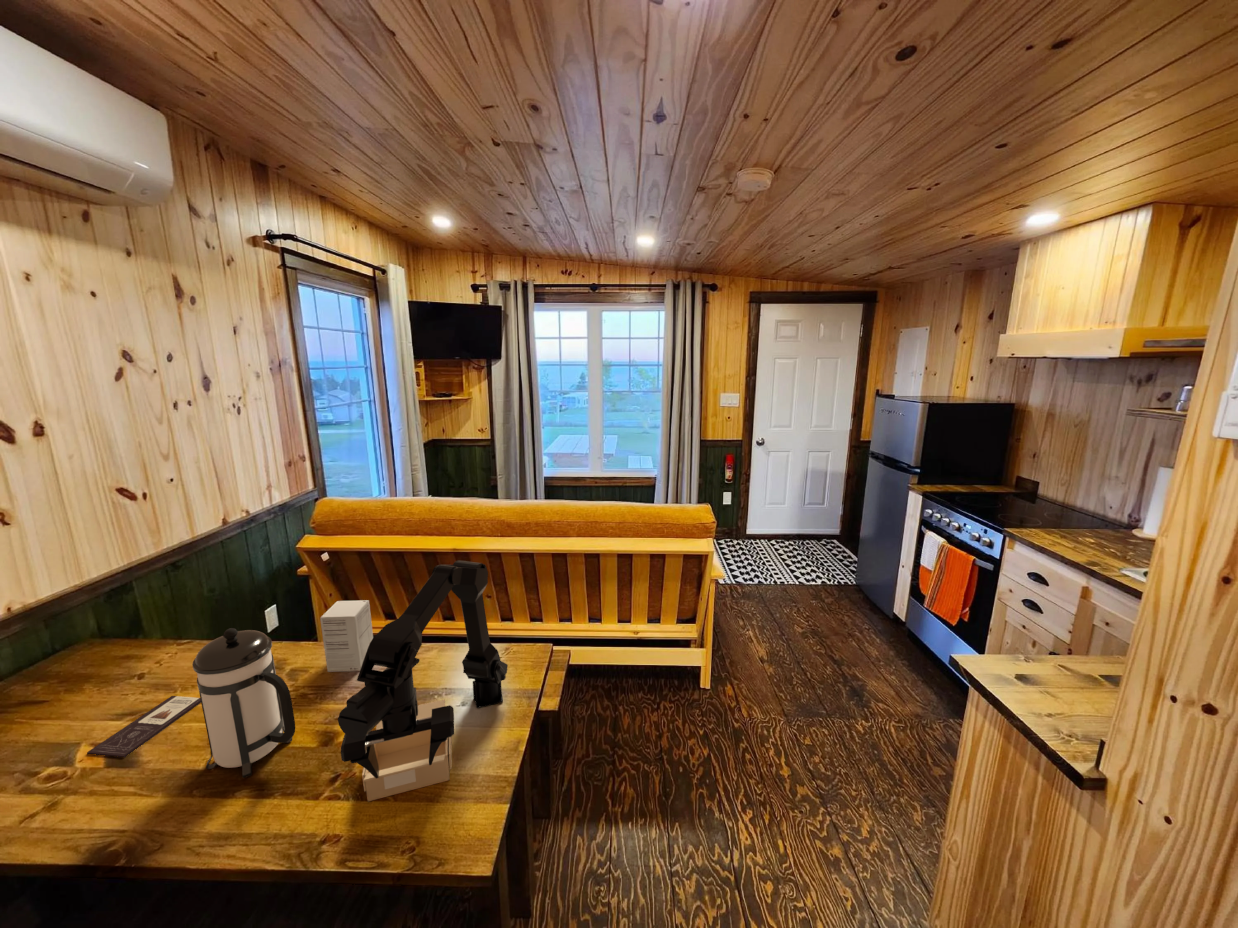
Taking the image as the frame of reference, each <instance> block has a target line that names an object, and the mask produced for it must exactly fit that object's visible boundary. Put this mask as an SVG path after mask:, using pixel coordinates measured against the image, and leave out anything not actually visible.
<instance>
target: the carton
mask: <svg viewBox="0 0 1238 928" xmlns="http://www.w3.org/2000/svg"><path fill="white" fill-rule="evenodd" d="M430 736H431V729H430V730H426V731H421V732H417V733H413V735H409V736H405V737H402V738H398V739H393V740H389V741H385V742H380V743H376V744H374V748H375V753H376V757H377V761H378V766H379V771H380V770H385V769H389V768H393V767H397V766H401V765H405V764H409V763H413V762H417V761H421V760H425V759H429V748H430ZM452 737H453V735H452V736H451V737H448V738H447V740H446V741H445V742H442V743H441V744H440V746H439V748H438V749H437V751H436V754H435V756H434V757H437V756H441V755H445V758H444V762H440V763H436V764H432V765H428V766H424V767H420V768H416V769H412V770H408V771H404V772H400V773H396V774H392V775H388V776H385V777H381V778H377V779H373V780H369V781H365V782H363V780H364V778H365V777H366V775H367V774H368V773H370V772H369V771H368V770H367V769H365V768H364V767H363V768H362V776H361V777H362V784H363V791H364V792H365V793H366V797H367V802H371V801H375V800H379V799H382V798H386V797H389V796H393V795H397V794H401V793H402V794H403V793H405V792H409V791H412V790H417V789H421V788H424V787H428V786H432V785H436V784H438V783H439V784H440V783H443V782H447V781H450V770H452V768H453V767H452V765H453V764H452V762H453V761H452V757H453V755H452V754H453V753H452V749H453V747H452V746H453V744H452V742H453V741H452Z"/></svg>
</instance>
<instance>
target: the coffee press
mask: <svg viewBox="0 0 1238 928" xmlns="http://www.w3.org/2000/svg"><path fill="white" fill-rule="evenodd" d="M272 647H273V641H272V638H271V637H270V636H268V635H266V634H265V633H264V632H262V631H259V630H253V629H246V630H237V629H236V628H234V627H233V628H232V627H231V628H227V629H226V630H225V631H224V632H223V635H221V636H219V637H217V638H215V639H213V640H211V641H209V642H208V643H206V644H205V645H204V646H202V647H201V649H200V650H199V651H198V652H197V654H196V656H195V658H194V659H193V661H192V670H193V671H194V672H195V673H196V674H197V678H196V685H197V688H198V693H199V698H200V699H201V703H200V704H201V709H202V712H203V718H204V719H203V720H204V723H205V728H206V733H207V739H208V744H209V748H210V749H209V750H210V755H211V756H210V757H209V758H208V760H207V762H206V765H205V768H206V769H207V770H212V769H214V768H216V766H217V765H218V766H220V767H223V768H228V769H229V768H231V769H232V768H238V767H241V768H242V770H241V771H242V774H241V775H242V778H243V779H244V778H247V777H250V776H252V775H253V763H255V762H256V761H259V760H261V759H262V758H264V757H265V756H266V755H267V756H268V754H270V752H272V751H273V750H274V749H275V748H276V747H277V746H278V745H279V744H283V743H284V744H290V743H291V742H292V741H293V736H294V735H295V733H296V722H295V721H296V720H295V719H296V718H295V714H294V708H293V702H292V695H291V692H290V689H289V687H288V685H287V683H286V681H285V680H284V679H283V678H282V677H281V676H279V675H278V674H277V672H276V667H275V660H274V655H273V653H272ZM212 759H213V760H214V763H212V764H210V762H211V761H212Z"/></svg>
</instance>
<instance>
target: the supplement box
mask: <svg viewBox="0 0 1238 928" xmlns="http://www.w3.org/2000/svg"><path fill="white" fill-rule="evenodd" d="M319 619H320V627H321V634H322V641H323V649H324V656H325V663H326V668H327V672H328V673H332V672H333V673H334V672H358V671H359V672H360V669H361V666H362V664H363V661H364V658H365V655H366V652H367V649H368V646H369V644H370V642H371V641H372V639H373V638H374V633H373V623H372V615H371V605H370V600H369V599H368V600H367V599H366V600H365V599H364V600H363V599H360V600H337V601H336V602H334V604H332V605H331V607H329V608H328V609H327V611H326V612H324V613H323V615H321V616H320V617H319Z"/></svg>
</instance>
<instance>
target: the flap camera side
mask: <svg viewBox="0 0 1238 928" xmlns="http://www.w3.org/2000/svg"><path fill="white" fill-rule="evenodd" d="M444 758H445V755H441V756H437V757H434V759H433V762H432V764H436V763H440V762H444ZM428 765H429V759H425V760H421V761H417V762H413V763H409V764H405V765H401V766H397V767H393V768H389V769H385V770H380V771H379V778H381V777H385V776H388V775H392V774H396V773H400V772H404V771H408V770H412V769H416V768H420V767H424V766H428ZM373 779H376V778H375V777H374V776H373V775H372V774H371V773H368V774H367V775H366V777H365V778H364V780H363V779H362V783H363V782H365V781H369V780H373Z"/></svg>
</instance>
